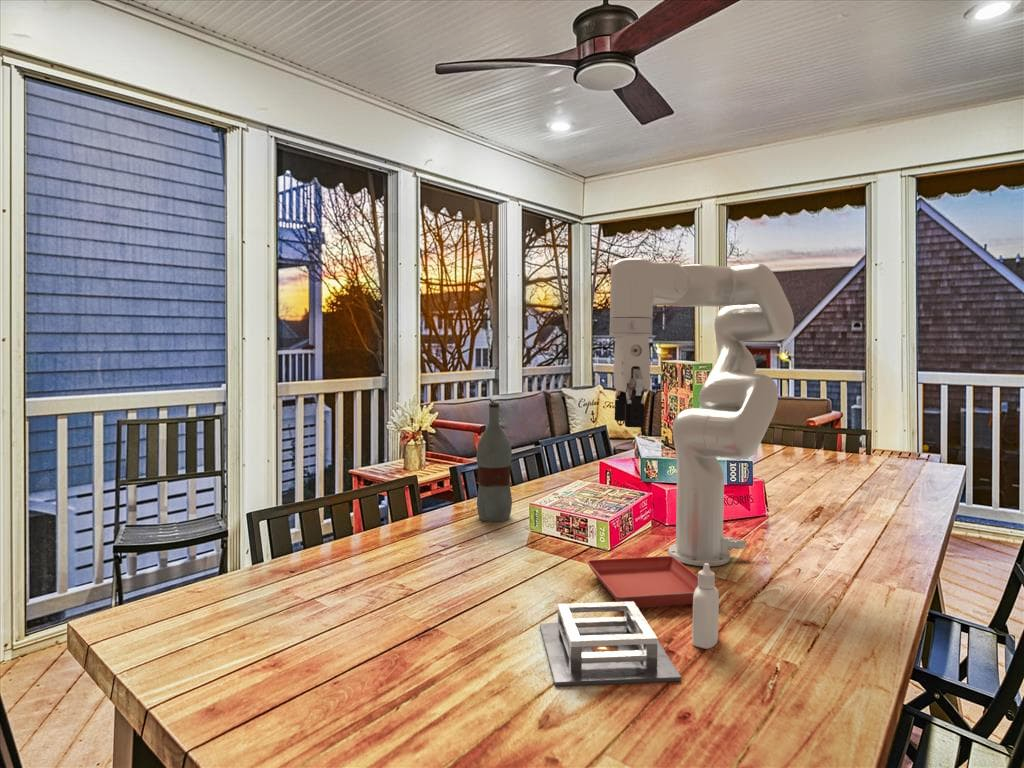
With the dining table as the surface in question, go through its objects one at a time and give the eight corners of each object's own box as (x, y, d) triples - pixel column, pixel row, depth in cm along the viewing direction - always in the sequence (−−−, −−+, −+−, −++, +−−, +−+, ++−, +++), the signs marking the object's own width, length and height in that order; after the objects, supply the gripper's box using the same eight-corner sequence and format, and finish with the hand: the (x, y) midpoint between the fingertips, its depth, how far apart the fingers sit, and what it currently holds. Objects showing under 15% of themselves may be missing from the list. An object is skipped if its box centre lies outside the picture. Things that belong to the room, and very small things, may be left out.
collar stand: (644, 623, 98) (644, 594, 98) (681, 681, 81) (681, 646, 81) (539, 627, 97) (539, 597, 97) (555, 686, 80) (555, 651, 80)
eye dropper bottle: (680, 639, 93) (682, 562, 92) (708, 631, 95) (709, 556, 95) (702, 652, 89) (703, 572, 88) (729, 643, 92) (731, 565, 91)
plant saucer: (671, 570, 122) (672, 554, 122) (717, 608, 105) (717, 589, 104) (585, 576, 119) (585, 559, 119) (617, 616, 102) (617, 597, 101)
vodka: (496, 510, 165) (496, 400, 163) (519, 517, 159) (519, 403, 157) (469, 517, 159) (468, 403, 157) (492, 524, 152) (491, 405, 150)
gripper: (664, 327, 100) (661, 430, 101) (640, 331, 118) (638, 419, 119) (618, 326, 100) (616, 429, 101) (602, 330, 118) (600, 418, 118)
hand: (628, 423), depth 110 cm, fingers open, 9 cm apart
